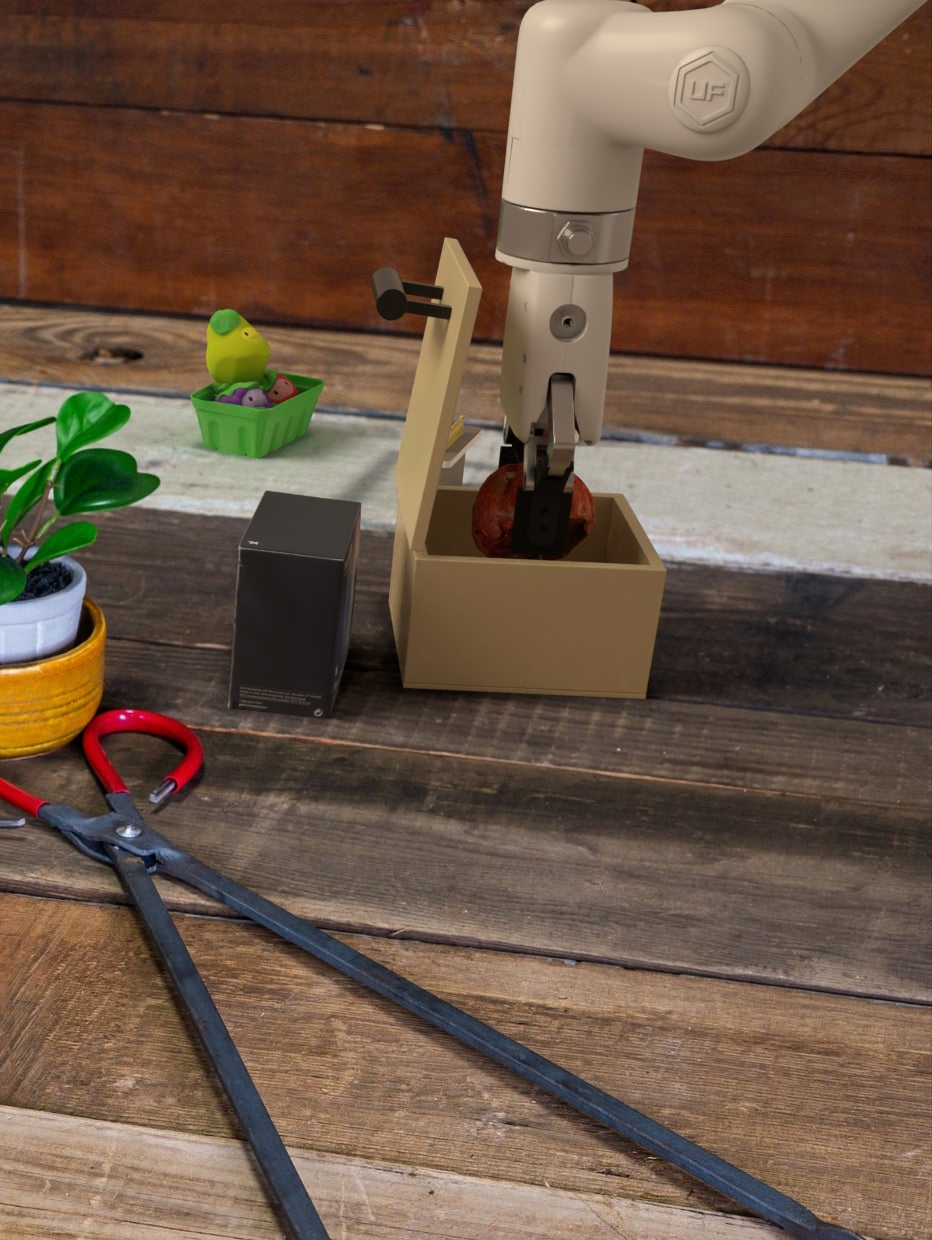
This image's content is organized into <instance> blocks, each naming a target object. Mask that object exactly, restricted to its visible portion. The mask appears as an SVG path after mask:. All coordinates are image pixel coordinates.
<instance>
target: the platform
mask: <svg viewBox="0 0 932 1240" xmlns="http://www.w3.org/2000/svg"><path fill="white" fill-rule="evenodd" d="M465 416H466V414H460V416H459V418H458V420H457V421H456V422H454V423H452V426H451V430H450V435H449V439H448V444H447V448H446V452H445V457H444V461H443V466H442V470H441V475H440V479H439V483H438V485H440V486H462V485H463V482H464V473H465V463H466V456H467V455H466V454H467V452H468V451H469V450H470V448H472V446H474V445H475V444H476V442H478V440H480V438H481V437H482V436H483V428H482V427H480V426H474V425H468V424H464V423H465Z"/></svg>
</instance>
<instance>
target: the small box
mask: <svg viewBox="0 0 932 1240" xmlns="http://www.w3.org/2000/svg"><path fill="white" fill-rule="evenodd" d="M361 521H362V502H360V501H354V500H353V501H352V500H345V499H336V498H335V499H334V498H327V497H319V496H313V495H303V494H296V493H291V492H290V493H289V492H281V491H273V490H265V491H264V493H263V495H262V496H261V498H260V501H259V502H258V505H257V506H256V508H255V510H254V513H253V515H252V516H251V519H250V521H249V523H248V525H247V527H246V529H245V532H244V534H243V535H242V538H241V539H240V542H239V544H238V547H237V553H236V566H235V587H234V601H233V602H234V604H233V618H232V627H233V628H232V640H231V642H232V643H231V655H230V667H229V678H228V688H227V692H228V693H227V701H226V707H227V708H228V709H230V710H241V711H252V712H253V711H254V712H259V713H268V714H279V715H287V716H296V717H305V718H313V719H324V720H326V719H330V717H331V715H332V713H333V709H334V706H335V703H336V698H337V695H338V691H339V688H340V684H341V680H342V677H343V673H344V670H345V667H346V662H347V659H348V655H349V651H350V650H349V649H350V643H351V635H352V629H353V628H352V627H353V618H354V609H355V608H354V607H355V600H356V599H355V598H356V597H355V596H356V589H357V588H356V586H357V578H358V577H357V576H358V565H359V552H360V540H361Z"/></svg>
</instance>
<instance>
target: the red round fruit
mask: <svg viewBox="0 0 932 1240" xmlns="http://www.w3.org/2000/svg"><path fill="white" fill-rule="evenodd" d="M504 456H505V457H508V458H509V460H510V464H507V465H504V466H502V467H501V468H499V469H498V468H497V469H496V470H495V471H493V472H492V473H490V474H489V475H488V476H487V477H486V479H485V480H484V482H483V483H482V484H481V486H479V487H480V489H479V492H478V495H477V497H476V501H475V503H474V505H473V507H472V537H473V539H474V542H475V545H476V547H477V548H478V549H479V550H480V551H481V552H482V553H484V554H485V555H486V556H487V558H503V559H525V560H547V561H554V560H558V559H562V558H564V557H566V556H567V555H568V554H569V553H570V551H571V550H572V549H573V548H574V547H576V546H577V545H578V544H579V543H580V542H582V541H583V540H584V539H585V538H586V537H587V536H588V535H589V534H590V533H591V530H592V528H593V525H594V523H595V507H594V499H593V496H592V494H591V493H590V492H591V490H590V489H589V487H588V486H587V485H586V484H585V482H584V481H583V480H582V478H581V477H579V476H578V475H577V474H576V473H574V482H573V498H572V505H571V513H570V520H569V527H568V535H567V542H566V550H565V552H564V553H563V554H562V555H534V554H516V553H514V552H513V551H512V549H511V545H510V544H511V535H512V527H513V518H514V510H515V501H516V493H517V486H518V487H523V470H524V462H523V463H522V462H521V461H520V460H519V459H518V456H517V451H516V450H511V451H510V452H509V453H507V454H504ZM539 459H540V457H536V466H537V464H538V462H537V460H539Z"/></svg>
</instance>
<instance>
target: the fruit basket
mask: <svg viewBox="0 0 932 1240" xmlns="http://www.w3.org/2000/svg"><path fill="white" fill-rule="evenodd" d="M206 340H207V346H206V350H205V363H206V367H207V370H208V373H209V375H210V376H211V378H212V379H213V382H212V383H210V384H208V385H206V386H204V387H202V388H200V389H199V390H196V391H195V392H192V393H191V394H190V395H189V397H190V401H191V403H192V407H193V408H194V409H195V413H196V417H197V418H196V419H197V421H198V422H197V423H198V425H199V430H200V434H201V438H202V441H203V445H204V448H205V449H210V450H217V451H220V452H224V453H229V454H232V455H233V454H234V455H238V456H246V457H249V458H253V459H261V458H263V457H265V456H267V455H268V454H269V453H272V452H274V451H276V450H278V449H280V448H281V447H282V446H283V445H284V446H285V445H287V444H289V443H291V442H294V441H295V439H297V438H300V437H302V436H304V435H307V432H308V429H309V426H310V423H311V420H312V417H313V415H314V411H315V408H316V405H317V403H318V399H319V396H320V395H322V392H323V389H324V387H325V384H326V382H325V380H323V379H321V378H318V377H311V376H307V375H301V374H297V373H296V374H295V373H289V372H286V371H285V372H284V371H279V370H277V369H268V368H267V365H268V362H269V360H270V357H271V355H272V349H271V347H270V344H269V342H268V340H267V339H266V338H265V337H264V336H263V335H262V334H261V333H260V332H259V331H258V330H257V329H256V328H255V327H254V326H253V325H251V324H250V323H249V322H248V321H247V320H246V319H245V318H244V317H243V316H242V315H240V314H239V312H237V311H236V310H233V309H231V308H227V309H226V308H225V309H219V310H217V311H215V312H214V313H213V315H212V316H211V317H210V319H209V324H208V325H207V329H206Z"/></svg>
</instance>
